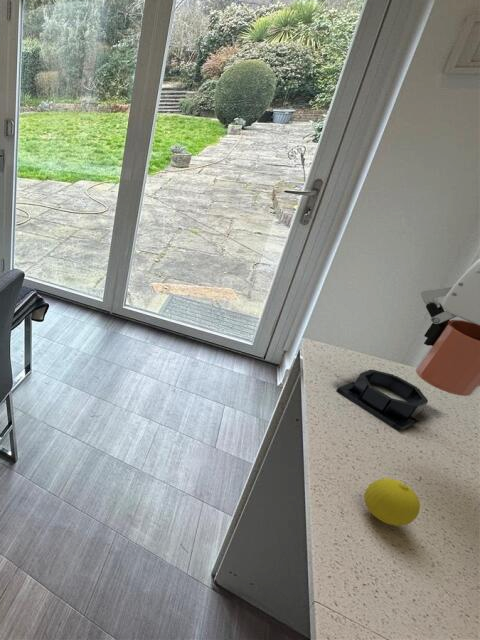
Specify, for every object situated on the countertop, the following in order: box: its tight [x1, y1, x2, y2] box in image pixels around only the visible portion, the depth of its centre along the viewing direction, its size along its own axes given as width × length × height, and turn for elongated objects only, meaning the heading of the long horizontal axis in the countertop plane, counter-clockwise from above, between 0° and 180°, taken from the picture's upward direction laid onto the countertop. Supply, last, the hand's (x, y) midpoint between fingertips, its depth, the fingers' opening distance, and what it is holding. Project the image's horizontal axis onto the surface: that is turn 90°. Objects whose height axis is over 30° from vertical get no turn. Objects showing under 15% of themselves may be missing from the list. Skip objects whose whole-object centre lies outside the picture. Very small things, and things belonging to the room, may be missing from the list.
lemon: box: [363, 477, 421, 527], centre depth 62 cm, size 6×6×8 cm
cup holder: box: [335, 369, 429, 432], centre depth 83 cm, size 11×11×4 cm
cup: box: [415, 319, 480, 397], centre depth 65 cm, size 7×7×10 cm
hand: (461, 356), depth 65 cm, fingers closed on cup, 6 cm apart
